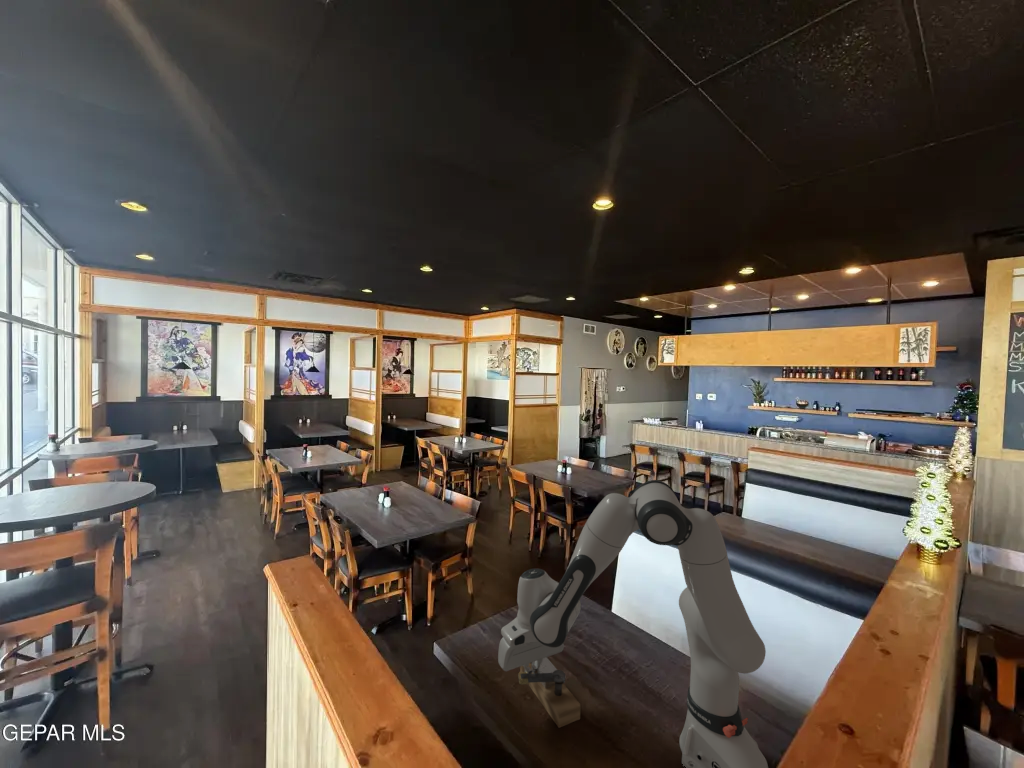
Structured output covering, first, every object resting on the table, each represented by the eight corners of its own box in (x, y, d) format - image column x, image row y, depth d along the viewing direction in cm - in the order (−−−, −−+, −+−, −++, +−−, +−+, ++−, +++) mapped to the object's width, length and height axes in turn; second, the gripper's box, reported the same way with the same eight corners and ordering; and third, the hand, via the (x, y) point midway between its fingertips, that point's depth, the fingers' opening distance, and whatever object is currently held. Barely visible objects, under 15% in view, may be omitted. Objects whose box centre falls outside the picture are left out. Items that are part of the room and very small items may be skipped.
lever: (563, 674, 119) (563, 669, 119) (566, 684, 115) (566, 679, 115) (518, 676, 118) (518, 671, 118) (519, 685, 114) (519, 680, 114)
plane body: (580, 718, 114) (581, 691, 113) (558, 728, 110) (560, 700, 110) (539, 666, 133) (540, 643, 133) (520, 672, 130) (521, 648, 130)
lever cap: (559, 683, 121) (560, 673, 121) (545, 688, 119) (545, 678, 119) (545, 665, 128) (545, 655, 128) (531, 669, 126) (531, 660, 126)
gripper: (556, 611, 126) (556, 656, 126) (496, 630, 117) (495, 678, 117) (568, 623, 120) (567, 669, 121) (505, 643, 111) (505, 693, 111)
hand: (531, 674), depth 119 cm, fingers closed
